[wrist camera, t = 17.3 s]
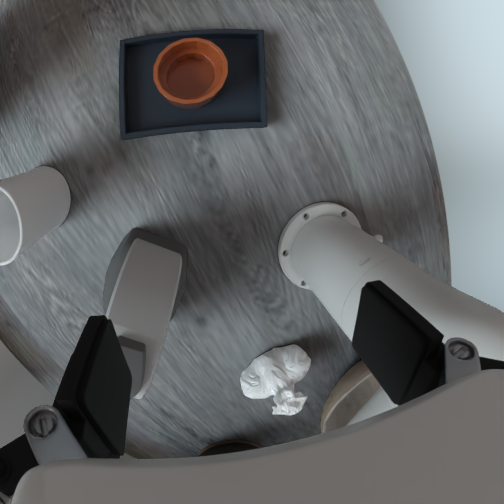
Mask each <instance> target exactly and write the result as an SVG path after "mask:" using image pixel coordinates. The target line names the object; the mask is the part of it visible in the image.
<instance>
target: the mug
mask: <svg viewBox="0 0 504 504" xmlns="http://www.w3.org/2000/svg"><path fill="white" fill-rule="evenodd" d="M70 202H71V198H70V191H69V187H68V184H67V182H66V180H65V178H64V177H63V176H62V175H61V173H60V172H58V171H57V170H56V169H54V168H51V167H48V166H41V167H37V168H35V169H33V170H31V171H29V172H26V173H22V174H19V175H15V176H12V177H9V178H6V179H2V180H0V265H6V264H9V263H11V262H12V261H13V260H15V259H16V258H17V257H18V256H19V255H20V254H22V253H23V252H24V251H25V250H26V249H28V248H29V247H30V246H31V245H33V244H34V243H35V242H36V241H38V240H39V239H40V238H41V237H43V236H44V235H45V234H47V233H48V232H49V231H51V230H54V229H56V228H58V227H59V226H60V225H61V224H62V223H63V222H64V221H65V219H66V217H67V215H68V213H69V209H70Z"/></svg>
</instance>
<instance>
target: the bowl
mask: <svg viewBox="0 0 504 504" xmlns="http://www.w3.org/2000/svg"><path fill="white" fill-rule="evenodd" d="M380 387H381V385H380V384H379V383H378V381H377V380H376V378H375V377H374V376H373V374H372V373H371V372H370V370H369V369H368V367H367V366H366V365H365V363H364V362H363V361H362V360H361V361H360V362H358V363H357V364H355V365H354V366H353V367H351V368H350V369H349V370H348V371H347V372H346V373H345V374H344V375H343V376H342V377H341V378H340V379H339V381H338V382H337V384H336V385H335V387H334V388H333V389H332V391H331V392H330V394H329V396H328V398H327V401H326V403H325V405H324V407H323V410H322V416H321V419H320V420H321V423H320V426H321V432H322V433H325V432H329V431H332V430H335V429H338V428H342V427H345V426H346V425H347V424H348V423H349V421H350V420H351V419H352V418H353V417H354V416H355V415H356V414H357V412H358V411H359V410H360V409H361V408H362V407H363V406H364V405H365V404H366V403H367V402H368V400H369V399H370V398H371V397H372V396H373V395H374V394H375V393H376V391H377V390H378V389H379V388H380Z"/></svg>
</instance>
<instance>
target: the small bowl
mask: <svg viewBox="0 0 504 504" xmlns="http://www.w3.org/2000/svg"><path fill="white" fill-rule="evenodd" d="M227 75H228V61H227V59H226V57H225V55H224V53H223V51H222V50H221V49H220V48H219V47H218V46H216V45H215V44H214V43H213V42H211V41H208V40H205V39H201V38H184V39H181V40H178V41H176V42H174V43H172V44H170V45H168V46H167V47H166V48H165V49H164V50H163V51H162V52H161V53H160V54H159V56H158V58H157V60H156V62H155V64H154V67H153V78H154V82H155V84H156V86H157V88H158V90H159V92H160V93H161V95H162V96H163V98H164V99H165V100H167V101H168V102H169V103H170V104H172V105H173V106H176V107H179V108H183V109H193V108H199V107H201V106H204V105H206V104H208V103H210V102H211V101H212V100H213V99H214V98H215V97H216V96H217V95H218V94H219V92H220V91H221V89H222V87H223V85H224V82H225V80H226V78H227Z"/></svg>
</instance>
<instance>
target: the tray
mask: <svg viewBox="0 0 504 504" xmlns="http://www.w3.org/2000/svg"><path fill="white" fill-rule="evenodd" d="M184 38H201V39H205V40H208V41H211V42H213V43H214V44H215V45H216V46H218V47H219V48H220V49H221V50H222V51H223V53H224V55H225V57H226V59H227V61H228V75H227V78H226V80H225V82H224V85H223V87H222V89H221V91H220V92H219V94H218V95H217V96H216V97H215V98H214V99H213V100H212V101H211V102H210V103H208V104H206V105H204V106H201V107H199V108H193V109H183V108H179V107H176V106H173V105H172V104H170V103H169V102H168V101H167V100H165V99H164V98H163V96H162V95H161V93H160V92H159V90H158V88H157V86H156V84H155V82H154V78H153V67H154V64H155V62H156V60H157V58H158V56H159V54H160V53H161V52H162V51H163V50H164V49H165V48H166V47H167V46H168V45H170V44H172V43H174V42H176V41H178V40H181V39H184ZM119 111H120V132H121V140H127V139H133V138H140V137H147V136H154V135H162V134H171V133H180V132H191V131H203V130H217V129H237V128H264V127H267V104H266V78H265V55H264V34H263V30H246V29H213V30H192V31H180V32H170V33H161V34H153V35H147V36H140V37H134V38H129V39H124V40H120V55H119Z"/></svg>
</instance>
